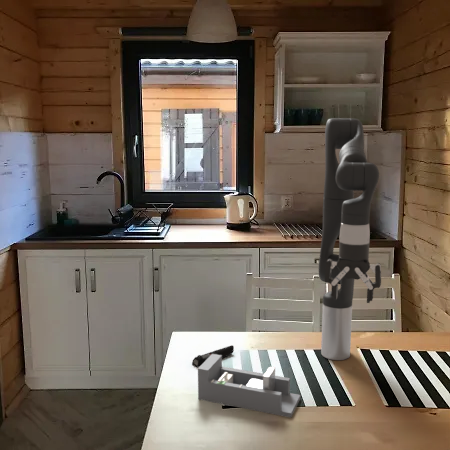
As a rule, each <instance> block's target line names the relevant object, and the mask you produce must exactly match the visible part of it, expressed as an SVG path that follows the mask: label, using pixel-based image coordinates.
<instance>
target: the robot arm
mask: <svg viewBox="0 0 450 450" xmlns="http://www.w3.org/2000/svg"><path fill="white" fill-rule="evenodd" d="M364 132H365V131H364V126H363V123H362V121H361V120H360V119H358V118H352V117H351V118H349V117H348V118H347V117H341V118H340V117H331V118H328V119H327V121H326V124H325V130H324V159H325V160H324V161H325V162H324V163H325V168H324V186H323V196H322V197H323V202H322V232H321V242H320V250H319V252H320V253H319V258H318V260H319V261H318V277H319V279H320V280H321V282H325V283H327V284H330V285H331V291H328V292H325V293H324V294H323V296H322V316H321V349H320V350H321V351H320V354H321V355H322V357H324V358H326V359H329V360H333V361H343V360H344V361H345V360H347V359H349V358H350V357H351V342H352V340H351V339H352V321H353V320H352V318H353V317H352V316H353V301H354V300H353V299H354V288H355V287H354V286H355V280H360V279H361V281H362V283H364V284H365V286H366V287H367V290H366V304H370V303H371V302H372V301H373V299H374V290H375V289H379V288H381V287H382V286H381V285H382V265H381V263H379V262H377V263H375V264H374V263H370V261H369V258H370V257H369V256H370V240H371V239H370V237H371V236H370V235H371V232H370V231H371V230H370V217H371V216H370V213H371V205H372V200H373V197H374V194H375V191H376V189H377V185H378V183H379V179H380V171H379V168H378V166H377V164H375V163H373V162H368V160H367V156H366V154H365V136H364V135H365V134H364ZM336 150H339V153H338V158H337V153H336ZM354 191H356V192H358V191H360V192H361V191H362V193H361V194H360V195H359V196H358V197H355V193H354ZM338 238H339V239H338ZM337 239H338V241H339V243H338V245H339V246H338V248H339V249H338V253H334V248H335V244H336V242H337ZM369 270H371V271H372V273H374V275H375V276H374V277H375V279H374V280H375V281H374V282H373V280H372V279H371V277H370V276H369V274H368V273H367V272H368V271H369ZM339 285H340V288H339Z"/></svg>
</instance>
